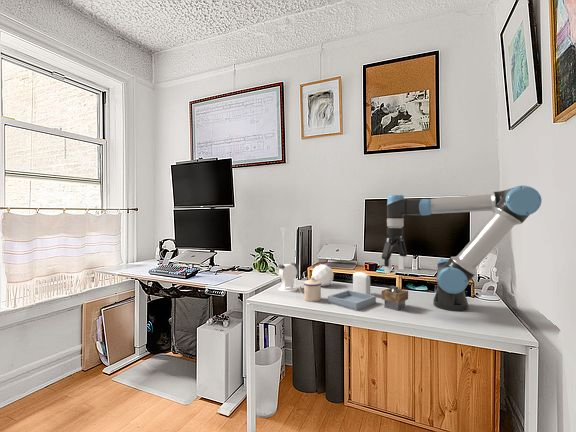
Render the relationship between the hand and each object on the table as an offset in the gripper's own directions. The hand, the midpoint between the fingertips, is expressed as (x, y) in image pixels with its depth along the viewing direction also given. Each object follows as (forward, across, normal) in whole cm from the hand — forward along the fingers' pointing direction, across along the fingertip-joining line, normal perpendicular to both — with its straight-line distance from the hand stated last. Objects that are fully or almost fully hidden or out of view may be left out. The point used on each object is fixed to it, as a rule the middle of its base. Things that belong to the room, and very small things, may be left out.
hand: (394, 271), depth 152 cm
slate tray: (+18, +9, -18) cm, 27 cm away
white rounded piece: (+18, +13, -61) cm, 65 cm away
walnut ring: (+13, 0, 0) cm, 13 cm away
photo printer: (+18, -8, -24) cm, 31 cm away
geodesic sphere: (+18, -8, -52) cm, 55 cm away
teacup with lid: (+18, +19, -38) cm, 46 cm away
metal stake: (+17, 0, 0) cm, 17 cm away
